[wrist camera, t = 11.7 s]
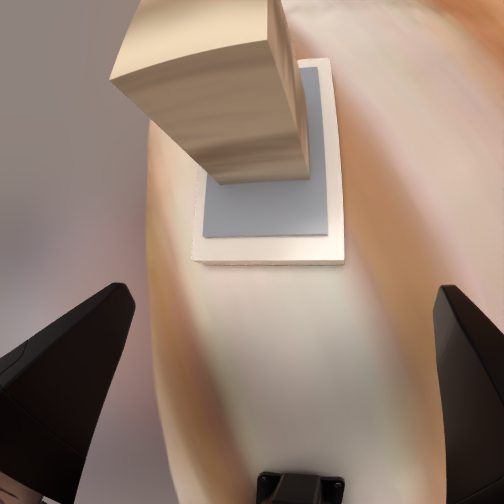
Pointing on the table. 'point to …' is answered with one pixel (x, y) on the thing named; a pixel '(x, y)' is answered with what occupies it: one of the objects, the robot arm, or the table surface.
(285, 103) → the birch pillar
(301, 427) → the table surface
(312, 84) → the pedestal
